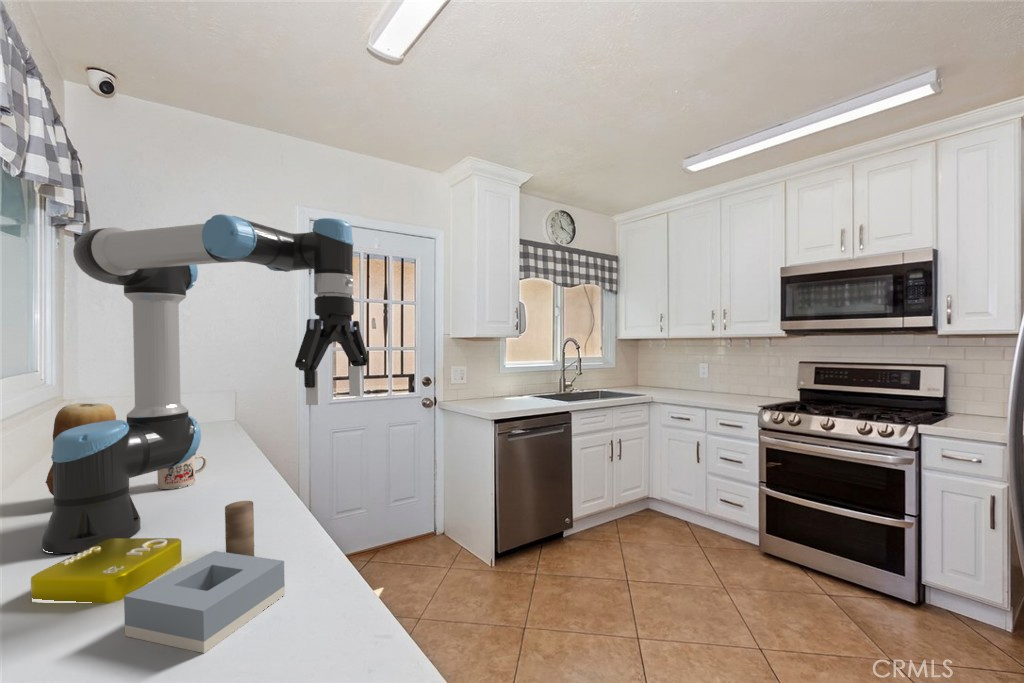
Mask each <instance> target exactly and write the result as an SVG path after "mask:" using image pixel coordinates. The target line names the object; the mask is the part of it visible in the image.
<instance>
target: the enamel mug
mask: <svg viewBox="0 0 1024 683" xmlns="http://www.w3.org/2000/svg"><path fill="white" fill-rule="evenodd" d="M196 454H197V452H196V453H195V454H194V455H193V456H192V457H191V458H190V459H189V460H188V461H186V462H184V463H181V464H178V465H176V466H174V467H171V468H167V469H161V470H157V471H156V472H157V488H158V489H159V490H162V489H171V490H175V489H174V488H179V487H183V488H185V487H184V486H187V485H190V484H192V485H194V484H195V483H196V474H198V473H199V474H200V473H201V472H203V471H204V470H205V469H206V467H207V464H208V460H207V457H206V456H204V455H201V454H200V455H196ZM196 459H202V460H203V462H202V465H201V467H200V468H198V469H197V470H196ZM193 483H194V484H193ZM190 486H191V485H190ZM187 487H188V486H187ZM179 489H180V488H179Z"/></svg>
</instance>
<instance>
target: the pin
mask: <svg viewBox="0 0 1024 683" xmlns="http://www.w3.org/2000/svg"><path fill="white" fill-rule="evenodd" d="M254 514H255V512H254V501H252V500H240V501H235V502H234V501H233V502H231V503H228V504H227V505H226V506H224V524H225V526H224V528H225V530H224V531H225V552H226V553H233V554H240V555H247V556H254V557H255V528H254V526H255V523H254V522H255V519H254V517H255V516H254Z"/></svg>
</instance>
